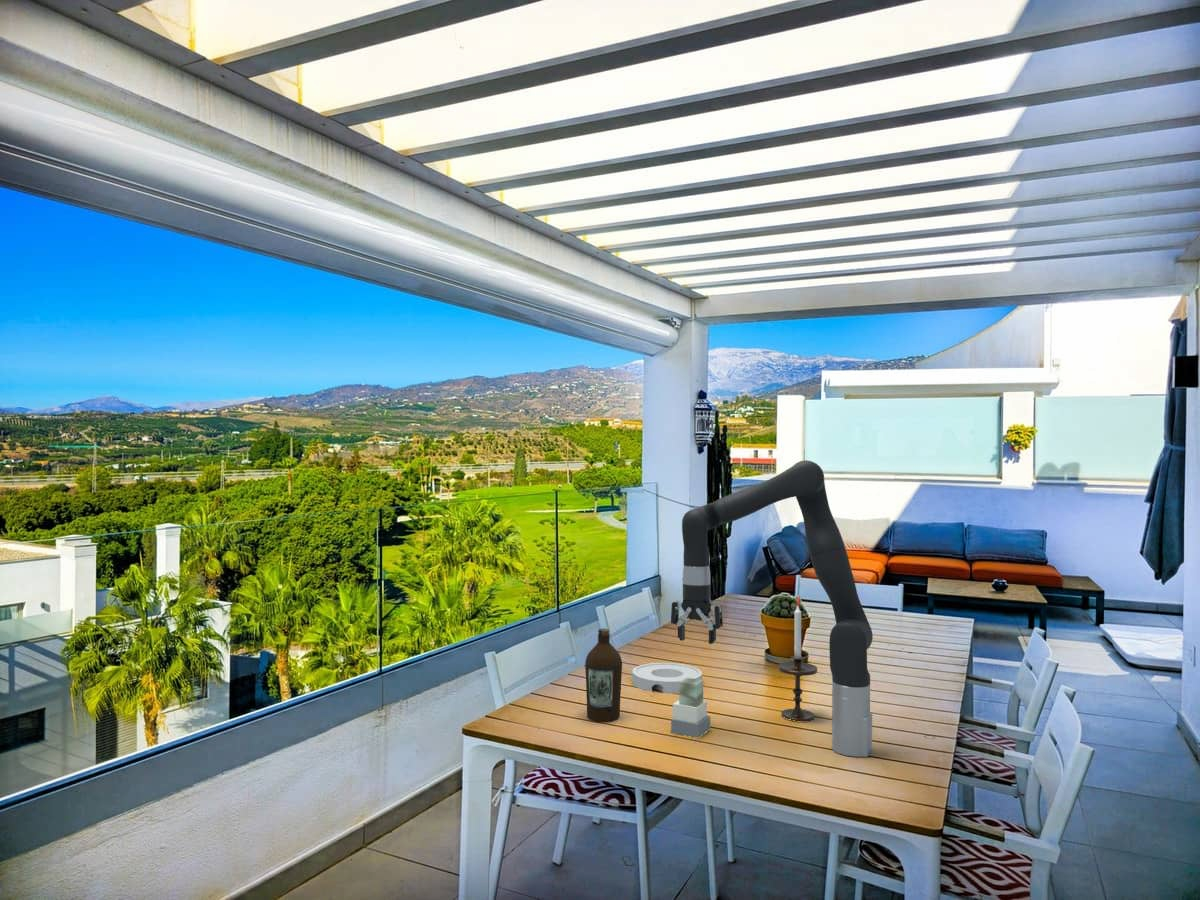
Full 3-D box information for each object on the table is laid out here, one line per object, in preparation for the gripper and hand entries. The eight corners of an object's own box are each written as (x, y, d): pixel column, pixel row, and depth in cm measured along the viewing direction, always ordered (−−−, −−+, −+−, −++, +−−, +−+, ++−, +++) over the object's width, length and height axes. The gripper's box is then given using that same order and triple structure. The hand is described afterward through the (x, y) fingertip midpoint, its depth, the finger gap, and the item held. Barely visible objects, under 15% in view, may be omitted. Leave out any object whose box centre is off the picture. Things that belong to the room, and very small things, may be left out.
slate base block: (710, 731, 212) (710, 716, 212) (698, 739, 205) (698, 724, 205) (683, 725, 216) (683, 711, 216) (670, 734, 209) (671, 719, 209)
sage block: (703, 702, 211) (703, 680, 212) (696, 707, 207) (696, 684, 207) (686, 699, 214) (686, 677, 214) (679, 704, 209) (679, 682, 210)
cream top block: (706, 715, 212) (706, 701, 212) (696, 723, 206) (696, 708, 206) (683, 711, 216) (683, 697, 216) (672, 718, 210) (672, 703, 210)
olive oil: (589, 709, 228) (590, 624, 229) (625, 712, 226) (625, 626, 226) (580, 721, 218) (581, 632, 218) (617, 724, 216) (618, 634, 216)
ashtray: (652, 697, 242) (652, 684, 242) (620, 678, 263) (620, 666, 263) (715, 689, 251) (715, 676, 251) (679, 671, 272) (679, 660, 272)
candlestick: (802, 709, 230) (802, 591, 231) (825, 720, 220) (825, 597, 220) (770, 713, 226) (771, 593, 227) (792, 725, 216) (793, 599, 217)
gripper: (726, 582, 211) (726, 642, 211) (678, 578, 218) (678, 636, 218) (716, 585, 204) (716, 647, 204) (666, 582, 211) (667, 641, 211)
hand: (696, 641), depth 211 cm, fingers open, 8 cm apart
